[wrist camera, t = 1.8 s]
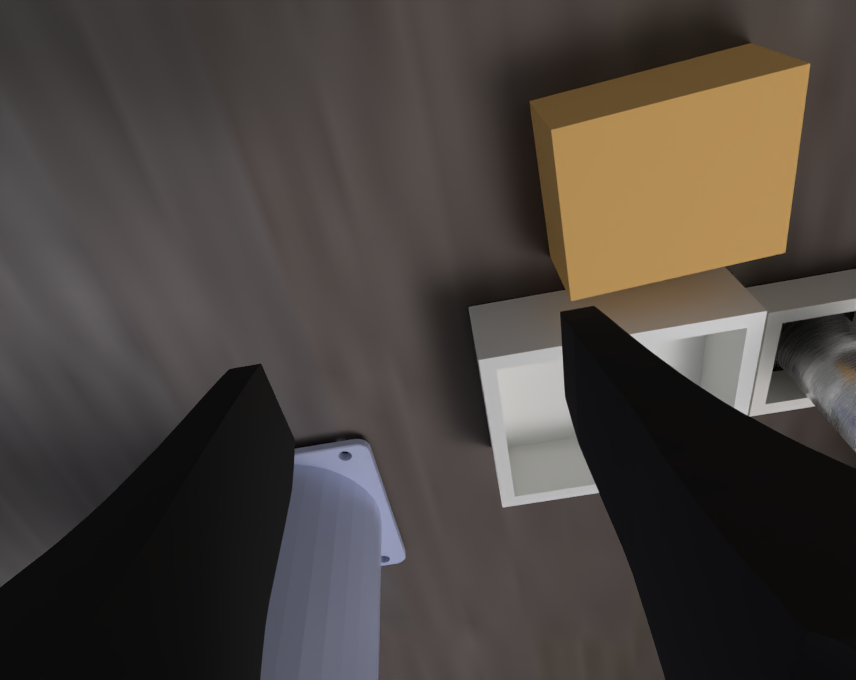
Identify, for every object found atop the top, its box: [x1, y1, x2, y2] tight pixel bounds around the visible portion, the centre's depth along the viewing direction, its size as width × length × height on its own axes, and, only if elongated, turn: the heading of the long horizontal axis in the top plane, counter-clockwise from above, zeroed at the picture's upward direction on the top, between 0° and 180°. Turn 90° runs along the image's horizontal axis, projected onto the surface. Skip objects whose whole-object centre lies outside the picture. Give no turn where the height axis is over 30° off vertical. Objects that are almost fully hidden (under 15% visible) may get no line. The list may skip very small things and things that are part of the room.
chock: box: [529, 43, 810, 301], centre depth 16 cm, size 6×5×3 cm
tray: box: [468, 267, 767, 507], centre depth 21 cm, size 8×7×3 cm
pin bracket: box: [746, 269, 856, 417], centre depth 21 cm, size 5×5×2 cm
